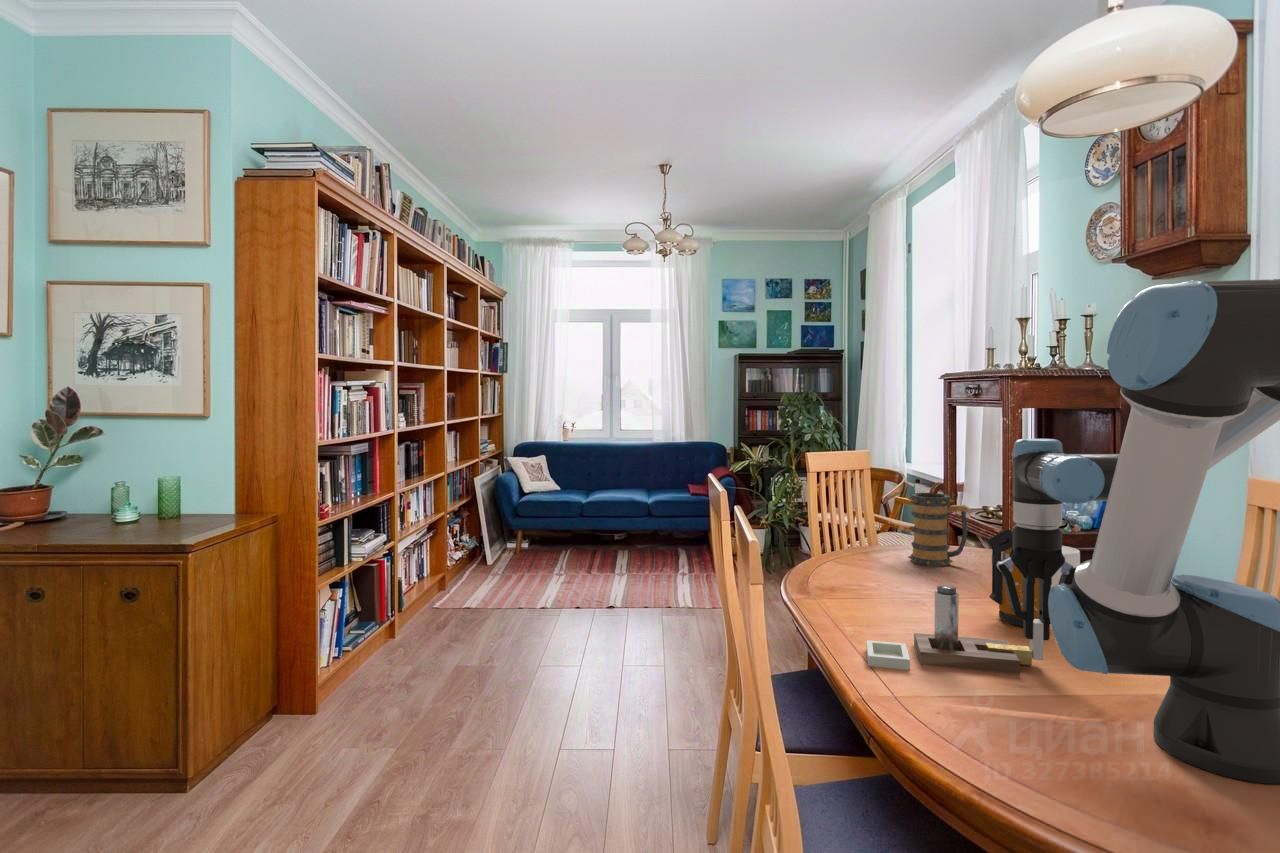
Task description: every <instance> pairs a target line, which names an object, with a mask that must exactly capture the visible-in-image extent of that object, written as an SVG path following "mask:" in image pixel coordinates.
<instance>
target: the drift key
mask: <svg viewBox="0 0 1280 853" xmlns="http://www.w3.org/2000/svg"><path fill="white" fill-rule="evenodd" d="M985 651H995V652H1006V653H1015V654H1016V656H1017V657H1018V659H1019V660H1020V665H1025V666H1033V658H1032V651H1031V649H1030V646H1026V645H1017V644H1016V645H1014V644H1009V645H1004V644H992V643H986V646H985Z"/></svg>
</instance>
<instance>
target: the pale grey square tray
mask: <svg viewBox="0 0 1280 853" xmlns="http://www.w3.org/2000/svg"><path fill="white" fill-rule="evenodd" d="M866 658H867V666H868V667H874V668H875V667H876V668H885V669H894V670H895V669H896V670H907V671H911V658H910V655H909V651H908V648H907V644H906V643H904V642H903V643H902V642H891V641H878V640H869V639H868V640H866Z"/></svg>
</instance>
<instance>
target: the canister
mask: <svg viewBox="0 0 1280 853" xmlns="http://www.w3.org/2000/svg"><path fill="white" fill-rule="evenodd" d="M988 542H989V545H990V547H991V549H992V550H991V551H992V554H991V566H992V569H991V594H989V598H990V599H991V600H992V601H994V602H995V603H996V604H998V608H999V610H998V616H999V618H1000V619H1002V620H1003V621H1006V622H1008V624H1011V625H1015V626H1019V627H1023V619H1022V618H1018V617H1016V616H1015V615H1014V613H1013V612H1012V610H1011V606H1010V602H1009V598H1008V595H1007V591H1006V587H1005V583H1004V579H1003V576H1002V573H1001V572H1000V570H999V569H998V568H997V566H996V562H998V561H1001V562H1002V561H1004V560H1006V559H1008V558H1010V557H1009V555H1010V553H1011V551H1012V549H1013V530H1011V529H1010V528H1007V529H1005V530H1003V531H1002V532H1000V533H998V534H996V535H994V536H993V537H990V538H989V539H988ZM1012 567H1013V571H1012V572H1011V574H1012V576H1013V579H1014V583H1015V587H1016V591H1017V594H1018V598H1019V602H1020V606H1021V610H1023V579H1022V574H1021V572H1020V571H1019V570H1018V569H1017V567H1016V566H1015V565H1014V564H1013V565H1012ZM1034 619H1039V620H1040V617H1039V580H1038V578H1035V584H1034Z"/></svg>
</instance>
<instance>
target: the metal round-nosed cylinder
mask: <svg viewBox="0 0 1280 853" xmlns="http://www.w3.org/2000/svg"><path fill="white" fill-rule="evenodd" d="M959 596H960V595H959V593H958V592H957V587H956V586H953V585H948V584H940V585H939V584H938V585H937V586H936V590H935V591H934V634H933V635H934V649H943V650H954V651H958V637H959V602H960V601H959Z"/></svg>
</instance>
